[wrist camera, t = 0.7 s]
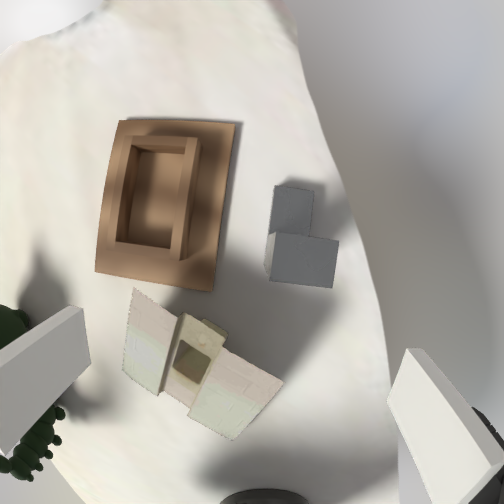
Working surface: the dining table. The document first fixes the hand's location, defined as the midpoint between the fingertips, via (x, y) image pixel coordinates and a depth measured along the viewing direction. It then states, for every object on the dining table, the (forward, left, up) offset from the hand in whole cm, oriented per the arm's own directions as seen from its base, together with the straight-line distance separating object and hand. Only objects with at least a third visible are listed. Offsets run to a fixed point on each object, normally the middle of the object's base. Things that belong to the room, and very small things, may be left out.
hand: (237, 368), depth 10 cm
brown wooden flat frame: (+8, +11, -21) cm, 25 cm away
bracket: (+6, -3, -21) cm, 22 cm away
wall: (-10, +5, -21) cm, 24 cm away
